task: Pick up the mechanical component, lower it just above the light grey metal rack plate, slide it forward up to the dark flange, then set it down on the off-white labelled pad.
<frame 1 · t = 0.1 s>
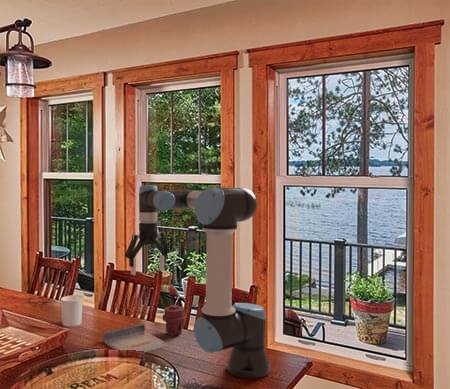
hand: (147, 272, 186), 28 cm above the table, tool pointing down, fingers open, 13 cm apart
candle holder: (72, 324, 204), on the table
rack plate: (134, 344, 180), on the table
mechanical component: (174, 334, 192), on the table
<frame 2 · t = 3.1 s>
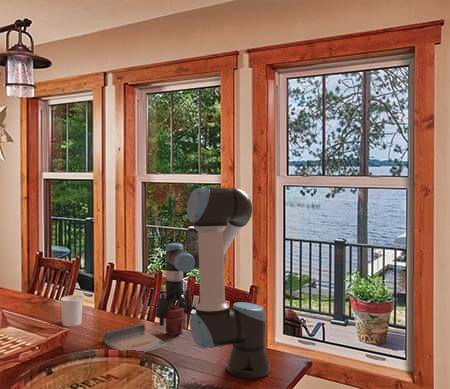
hand: (174, 330, 192), 2 cm above the table, tool pointing down, fingers closed on mechanical component, 10 cm apart
mechanical component: (174, 334, 192), on the table, touching gripper
everything else where it was.
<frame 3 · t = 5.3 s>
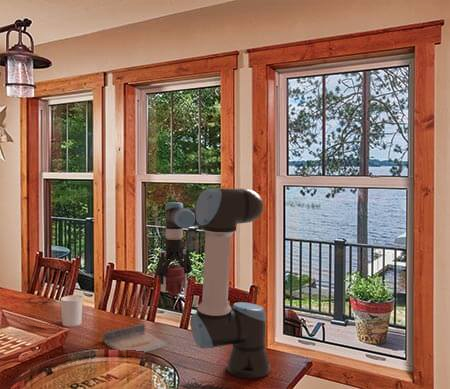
hand: (173, 289, 191), 20 cm above the table, tool pointing down, fingers closed on mechanical component, 10 cm apart
mechanical component: (173, 294, 191), point 18 cm above the table, touching gripper
everything else where it was.
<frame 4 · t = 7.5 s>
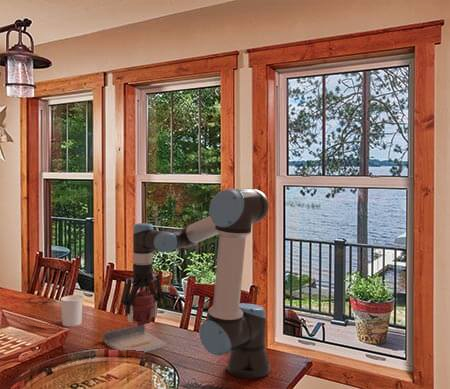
hand: (142, 319, 174), 12 cm above the table, tool pointing down, fingers closed on mechanical component, 10 cm apart
mechanical component: (142, 323, 174), point 10 cm above the table, touching gripper
everything else where it was.
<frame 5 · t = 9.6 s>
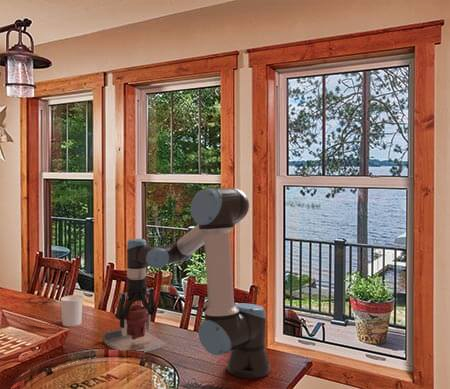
hand: (136, 332, 178), 5 cm above the table, tool pointing down, fingers closed on mechanical component, 10 cm apart
mechanical component: (136, 337, 179), point 3 cm above the table, touching gripper
everything else where it was.
when the fingers open (4 cm above the table, at t = 11.7 s): mechanical component stays where it is, resting on rack plate.
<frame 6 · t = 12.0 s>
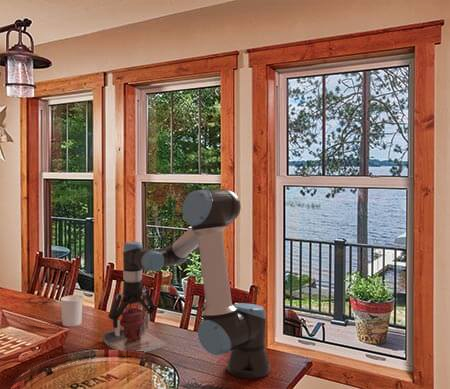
hand: (132, 331, 181), 5 cm above the table, tool pointing down, fingers open, 13 cm apart
mechanical component: (132, 339, 181), point 1 cm above the table, touching rack plate
everything else where it was.
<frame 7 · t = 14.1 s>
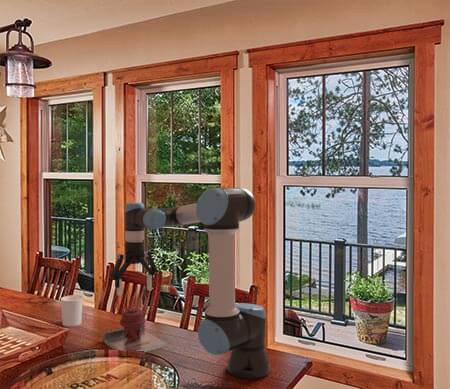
hand: (134, 292, 181), 21 cm above the table, tool pointing down, fingers open, 13 cm apart
nothing on the table moved.
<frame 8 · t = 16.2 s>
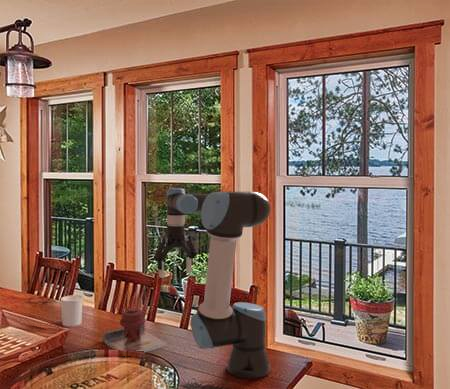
hand: (175, 275, 187), 27 cm above the table, tool pointing down, fingers open, 13 cm apart
nothing on the table moved.
at the end: mechanical component inside the target area (0.0 cm from its centre), point 1.4 cm above the table; mechanical component tilted 0°; the gripper is holding nothing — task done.
